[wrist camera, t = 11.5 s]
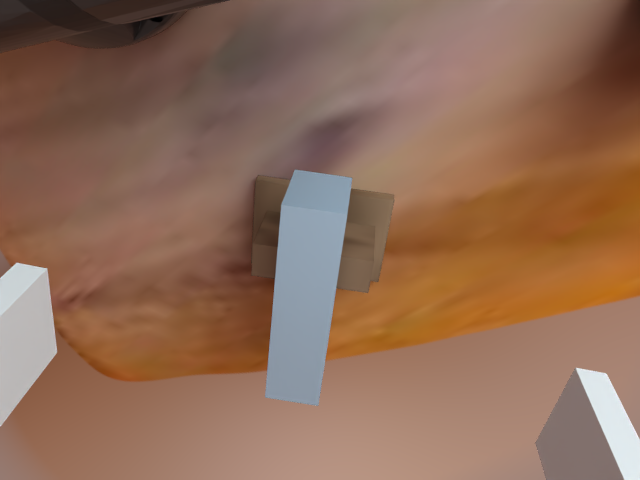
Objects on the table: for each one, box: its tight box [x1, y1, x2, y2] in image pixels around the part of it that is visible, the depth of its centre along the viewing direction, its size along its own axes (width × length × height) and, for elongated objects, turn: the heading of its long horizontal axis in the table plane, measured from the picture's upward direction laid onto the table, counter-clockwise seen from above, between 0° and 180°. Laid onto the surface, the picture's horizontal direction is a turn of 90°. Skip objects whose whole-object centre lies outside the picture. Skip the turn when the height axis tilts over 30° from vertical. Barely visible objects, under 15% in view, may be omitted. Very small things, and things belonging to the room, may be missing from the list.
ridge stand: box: [251, 175, 394, 293], centre depth 39 cm, size 10×7×6 cm
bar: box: [265, 170, 352, 406], centre depth 34 cm, size 4×14×5 cm, turn 173°
